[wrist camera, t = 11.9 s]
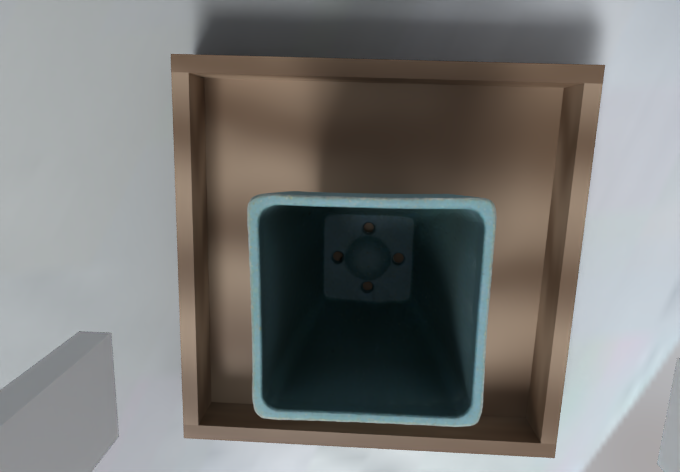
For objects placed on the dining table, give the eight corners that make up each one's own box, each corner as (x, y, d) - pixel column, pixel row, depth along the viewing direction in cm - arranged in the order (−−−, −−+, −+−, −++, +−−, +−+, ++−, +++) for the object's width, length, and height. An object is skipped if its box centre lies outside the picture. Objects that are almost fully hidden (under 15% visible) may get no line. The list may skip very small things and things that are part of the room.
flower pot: (285, 332, 28) (251, 421, 20) (284, 173, 27) (245, 193, 18) (444, 336, 28) (482, 429, 19) (453, 176, 26) (498, 197, 17)
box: (192, 62, 26) (170, 54, 23) (577, 72, 26) (604, 65, 23) (201, 408, 30) (183, 438, 27) (535, 425, 29) (554, 457, 26)
